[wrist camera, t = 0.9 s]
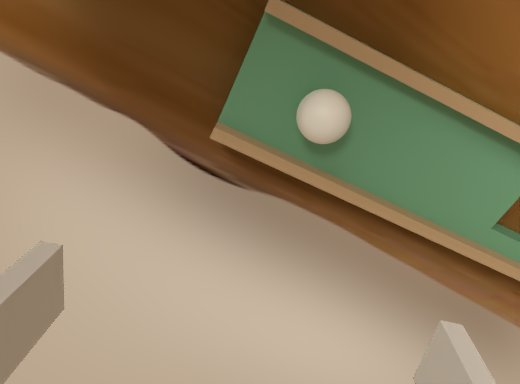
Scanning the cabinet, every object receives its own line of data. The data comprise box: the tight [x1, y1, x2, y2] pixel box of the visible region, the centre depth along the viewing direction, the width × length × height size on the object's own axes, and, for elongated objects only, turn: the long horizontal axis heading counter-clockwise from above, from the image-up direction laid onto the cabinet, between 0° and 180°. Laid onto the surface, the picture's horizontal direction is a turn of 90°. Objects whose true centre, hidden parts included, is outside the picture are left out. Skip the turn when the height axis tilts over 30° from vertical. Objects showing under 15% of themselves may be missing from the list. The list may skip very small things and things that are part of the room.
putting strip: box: [210, 0, 520, 281], centre depth 32 cm, size 11×34×4 cm, turn 65°
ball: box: [296, 89, 352, 144], centre depth 29 cm, size 4×4×4 cm
